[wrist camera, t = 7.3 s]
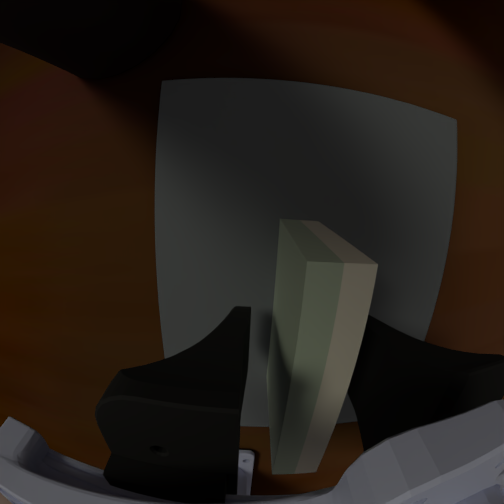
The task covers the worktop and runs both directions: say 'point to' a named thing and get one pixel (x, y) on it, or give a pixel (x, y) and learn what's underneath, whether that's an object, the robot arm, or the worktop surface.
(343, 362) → the tile
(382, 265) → the mat
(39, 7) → the bottle
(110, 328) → the worktop surface
